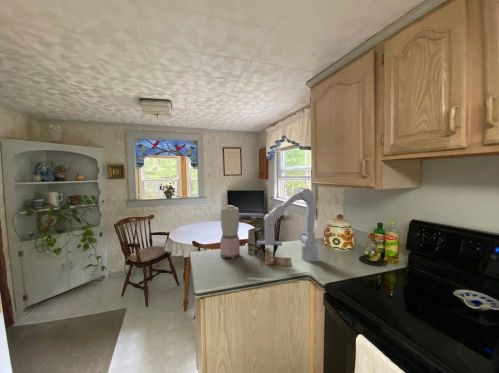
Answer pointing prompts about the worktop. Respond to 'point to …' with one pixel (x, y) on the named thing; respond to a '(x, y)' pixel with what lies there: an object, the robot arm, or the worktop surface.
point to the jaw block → (269, 256)
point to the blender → (229, 232)
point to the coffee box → (254, 240)
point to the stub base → (277, 262)
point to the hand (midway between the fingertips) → (269, 257)
